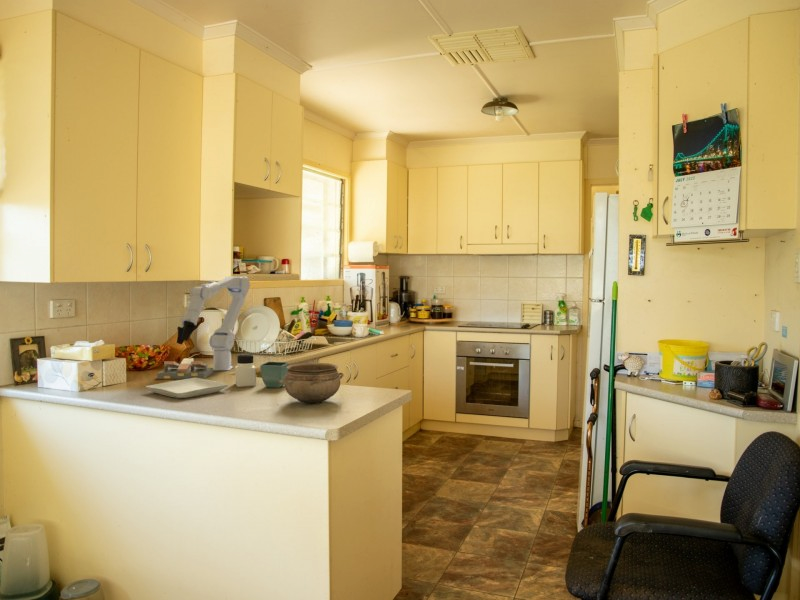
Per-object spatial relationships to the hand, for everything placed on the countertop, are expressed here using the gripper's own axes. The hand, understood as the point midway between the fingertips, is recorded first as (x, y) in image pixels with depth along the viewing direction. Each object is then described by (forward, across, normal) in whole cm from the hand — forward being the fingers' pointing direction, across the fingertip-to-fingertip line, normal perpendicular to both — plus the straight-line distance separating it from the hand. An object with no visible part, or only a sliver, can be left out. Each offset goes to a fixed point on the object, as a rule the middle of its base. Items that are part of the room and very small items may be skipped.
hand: (181, 341), depth 257 cm
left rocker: (+8, -11, +2) cm, 14 cm away
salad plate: (+25, +26, +4) cm, 36 cm away
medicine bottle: (+14, +23, +24) cm, 36 cm away
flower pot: (+13, +32, +33) cm, 48 cm away
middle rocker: (+7, -8, +7) cm, 13 cm away
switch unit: (+10, -9, +8) cm, 16 cm away
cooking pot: (+22, +64, +36) cm, 77 cm away
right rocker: (+6, -5, +11) cm, 14 cm away
